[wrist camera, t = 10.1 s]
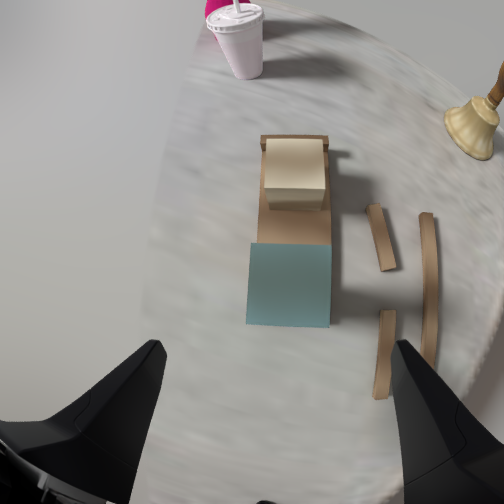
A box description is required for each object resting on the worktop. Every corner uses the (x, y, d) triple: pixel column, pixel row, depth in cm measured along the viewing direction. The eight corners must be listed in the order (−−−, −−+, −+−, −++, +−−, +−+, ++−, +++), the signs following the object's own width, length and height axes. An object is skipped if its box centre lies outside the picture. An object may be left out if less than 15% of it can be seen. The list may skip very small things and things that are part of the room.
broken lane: (425, 390, 19) (430, 393, 18) (359, 397, 20) (362, 400, 19) (427, 211, 23) (431, 207, 22) (365, 206, 24) (368, 202, 23)
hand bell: (435, 103, 25) (477, 14, 10) (479, 115, 24) (525, 42, 9) (455, 155, 24) (521, 67, 8) (499, 165, 22) (564, 97, 7)
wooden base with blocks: (327, 324, 22) (373, 341, 9) (253, 321, 23) (200, 333, 10) (326, 149, 26) (339, 36, 12) (263, 148, 27) (238, 37, 13)
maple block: (320, 210, 24) (325, 189, 19) (269, 209, 24) (264, 187, 20) (318, 166, 24) (322, 139, 20) (271, 165, 25) (266, 138, 21)
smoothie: (262, 90, 29) (241, -7, 15) (216, 83, 30) (182, -3, 17) (279, 61, 30) (267, -26, 16) (236, 55, 31) (213, -24, 18)
